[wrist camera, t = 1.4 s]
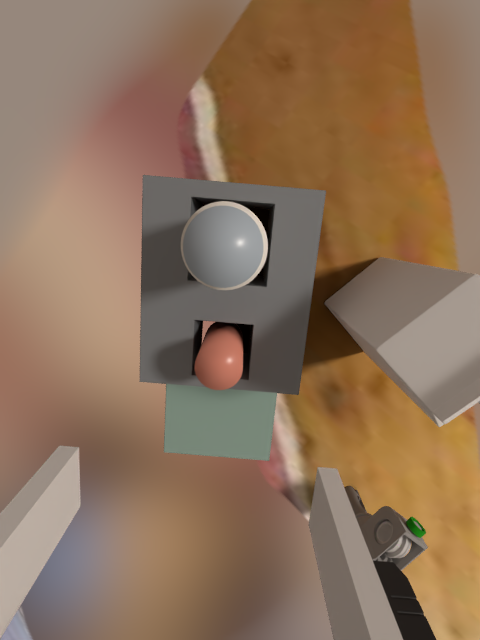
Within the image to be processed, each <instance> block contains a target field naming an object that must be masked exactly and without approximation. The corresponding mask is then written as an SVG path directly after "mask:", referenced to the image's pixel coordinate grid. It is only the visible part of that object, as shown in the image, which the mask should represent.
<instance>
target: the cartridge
mask: <svg viewBox="0 0 480 640" xmlns="http://www.w3.org/2000/svg"><path fill="white" fill-rule="evenodd" d="M267 252H268V241H267V235H266V232H265V229H264V227H263V225H262V223H261V221H260V220H259V219H258V217H257V216H256V215H255V214H254V213H253V212H252V211H250V210H249V209H248V208H246V207H244V206H242V205H240V204H237V203H234V202H228V201H219V202H214V203H210V204H208V205H205V206H203V207H202V208H200V209H199V210H197V211H196V212H195V213H194V214H193V215H192V216H191V217H190V219H189V220H188V221H187V223H186V225H185V227H184V230H183V233H182V237H181V254H182V258H183V261H184V263H185V266H186V267H187V269H188V271H189V272H190V273H191V275H192V276H193V277H194V278H195V279H196V280H197V281H199V282H200V283H202V284H203V285H205V286H207V287H210V288H213V289H217V290H233V289H237V288H240V287H242V286H244V285H246V284H248V283H249V282H251V281H252V280H253V279H254V278H255V277H256V276H257V275H258V274H259V272H260V271H261V269H262V268H263V266H264V263H265V261H266V257H267Z"/></svg>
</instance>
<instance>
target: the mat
mask: <svg viewBox="0 0 480 640" xmlns="http://www.w3.org/2000/svg"><path fill="white" fill-rule="evenodd" d="M276 397H277V393H271V392H259V391H247V390H235V389H225V390H213V389H210V388H208V387H198V386H186V385H174V384H166V408H165V436H164V452H169V453H181V454H194V455H205V456H218V457H230V458H242V459H254V460H267V461H269V457H270V448H271V440H272V431H273V423H274V414H275V406H276Z"/></svg>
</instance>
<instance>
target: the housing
mask: <svg viewBox="0 0 480 640" xmlns="http://www.w3.org/2000/svg"><path fill="white" fill-rule="evenodd" d="M325 194H326V191H323V190H311V189H300V188H288V187H276V186H265V185H253V184H242V183H230V182H218V181H207V180H195V179H183V178H171V177H160V176H149V175H143V198H142V264H141V267H142V268H141V330H140V332H141V333H140V335H141V336H140V382H151V383H162V384H163V383H164V384H174V385H186V386H198V387H206V386H204V385H203V384H202V383H201V382H200V381H199V380H198V378H197V376H196V373H195V361H196V358H197V355H198V353H199V350H200V348H201V345H202V328H203V321H215V322H227V323H239V324H251V327H250V338H249V348H248V353H243V372H242V375H241V378H240V379H239V381H238V382H237V383H236V384H235V385H234V386H232V387H231V388H228V389H235V390H247V391H259V392H271V393H283V394H295V395H299V388H300V381H301V373H302V366H303V358H304V351H305V343H306V336H307V329H308V321H309V314H310V306H311V299H312V291H313V284H314V276H315V269H316V261H317V254H318V246H319V239H320V231H321V224H322V216H323V209H324V201H325ZM219 201H228V202H234V203H237V204H240V205H242V206H244V207H246V208H257V209H269V217H268V227H267V241H268V252H267V257H266V261H265V263H264V268H263V277H260V276H256V277H255V278H254V279H253V280H252V281H251V282H249V283H248V284H246V285H244V286H242V287H240V288H237V289H233V290H217V289H213V288H210V287H207V286H205V285H203V284H202V283H200V282H199V281H197V280H196V279H195V278H194V277H193V276H192V275H191V273H190V272H189V271H188V269H187V267H186V266H185V263H184V261H183V258H182V254H181V237H182V233H183V230H184V227H185V225H186V223H187V221H188V220H189V219H190V217H191V216H192V215H193V214H194V213H195V212H196V211H197V210H199V209H200V208H202V204H210V203H214V202H219Z"/></svg>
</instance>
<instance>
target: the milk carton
mask: <svg viewBox="0 0 480 640" xmlns="http://www.w3.org/2000/svg"><path fill="white" fill-rule="evenodd" d="M324 304H325V305H326V306H327V307H328V309H329V310H330V311H331V312H332V314H333V315H334V316H335V317H336V318H337V320H338V321H339V322H340V323H341V324H342V326H343V327H344V328H345V329H346V330H347V332H348V333H349V334H350V335H351V337H352V338H353V339H354V340H355V341H356V343H357V344H358V345H359V346H360V347H361V349H362V350H363V351H364V352H365V353H366V354H367V355H368V356H369V357H370V358H371V359H372V360H373V361H374V362H375V363H376V364H377V365H378V366H379V367H380V368H381V369H382V370H383V371H384V372H385V373H386V374H387V375H388V376H389V377H390V378H391V379H392V380H393V381H394V382H395V383H396V384H397V385H398V386H399V387H400V388H401V389H402V390H403V391H404V392H405V393H406V394H407V395H408V396H409V397H410V398H411V399H412V400H413V401H414V402H415V403H416V404H417V405H418V406H419V407H420V408H421V409H422V410H423V411H424V412H425V413H426V414H427V415H428V416H429V417H430V418H431V419H432V420H433V421H434V422H435V423H436V424H437V426H438V427H441V426H442V425H444V424H447V423H448V422H450V421H451V420H453V419H454V418H455V417H457V416H458V415H460V414H461V413H463V412H464V411H466V410H467V409H469V408H470V407H472V406H473V405H474V404H476V403H477V402H478V403H479V404H480V276H479V275H477V274H472V273H466V272H461V271H455V270H450V269H444V268H439V267H433V266H428V265H422V264H416V263H411V262H405V261H400V260H394V259H389V258H383V257H380V258H378V259H377V260H376V261H374V262H373V263H372V264H371V265H369V266H368V267H367V268H366V269H365V270H363V271H362V272H361V273H360V274H358V275H357V276H356V277H355V278H353V279H352V280H351V281H350V282H348V283H347V284H346V285H345V286H343V287H342V288H341V289H340V290H338V291H337V292H336V293H335V294H334V295H332V296H331V297H330V298H329V299H327V300H326V301H325V303H324Z"/></svg>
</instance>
